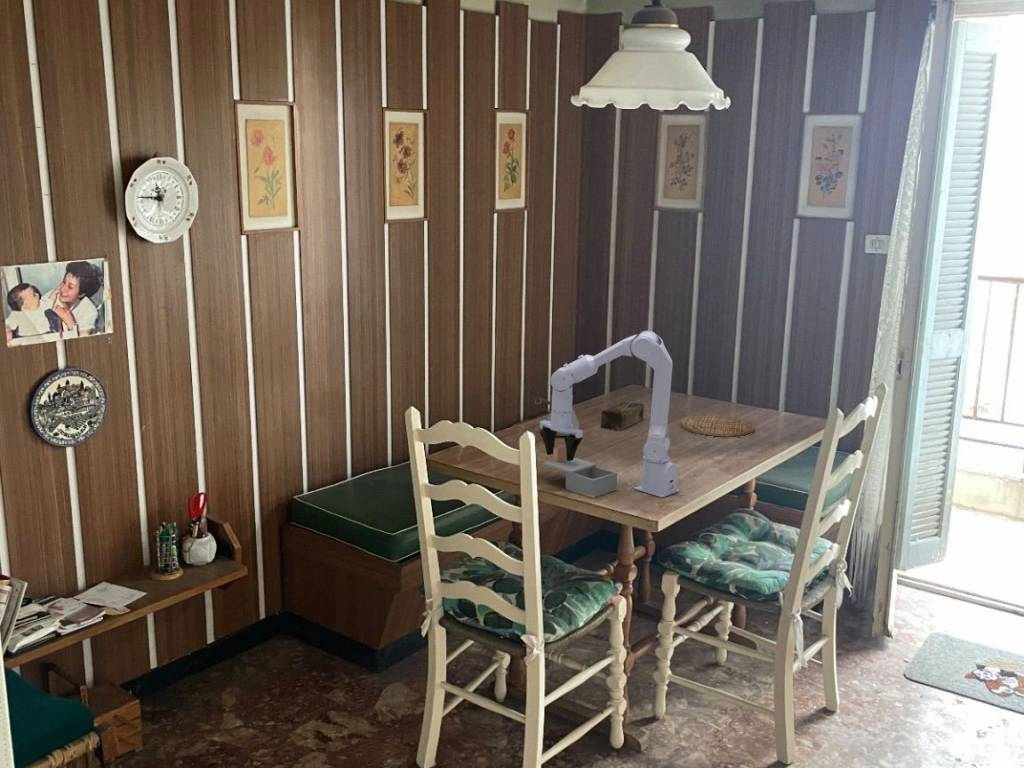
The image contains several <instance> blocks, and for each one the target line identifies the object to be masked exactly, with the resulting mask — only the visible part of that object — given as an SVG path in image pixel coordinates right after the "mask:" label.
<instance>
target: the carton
mask: <svg viewBox="0 0 1024 768" xmlns="http://www.w3.org/2000/svg"><path fill="white" fill-rule="evenodd" d="M617 488H618V472H616V471H614V470H613V471H612V470H610V469H605V468H602V467H599V466H597V465H596V466H594V467H591V468H588V469H584V470H581V471H578V472H574V473H569V472H565V488H564V489H565V490H568V491H570V492H573V493H576V494H579V495H582V496H584V497H585V496H586V497H588V498H592V499H596V498H597V497H600V496H604V495H606V494H610V493H612V491H613V492H615V490H616V491H617ZM609 492H610V493H609Z"/></svg>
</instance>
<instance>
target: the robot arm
mask: <svg viewBox="0 0 1024 768" xmlns="http://www.w3.org/2000/svg"><path fill="white" fill-rule="evenodd" d="M633 355H634V356H635V357H636V358H638V359H639V360H641V361H644V362H646V363H647V364H648V365H649V366H650V368H652V369H653V382H652V383H653V385H652V394H651V395H652V396H651V406H650V407H651V408H650V420H649V427H648V432H647V440H646V442H645V443H644V445H643V449H642V453H643V456H642V472H641V473H642V475H641V477H642V478H641V485H639V486H636V487H634V489H635V490H636V491H640V492H641V493H642V492H643V493H646V494H650V495H653V496H657V497H659V498H665V497H666V496H670V495H672V494H675V493H676V494H677V493H679V492H680V491H679V488H678V484H679V483H678V481H679V468H678V465H677V464H676V463H673V462H672V461H671V460H670V456H669V454H668V451H669V449H670V448H671V445H672V444H671V439H670V435H669V425H668V423H669V422H668V420H669V414H670V413H669V410H670V400H671V399H670V398H671V388H672V376H673V375H672V374H673V360H672V357H671V356H670V354H669V352H668V350H667V348H666V346H665V344H664V340H663V339H662V338H661V337H660V336H659V335H657V333H655V332H654V331H651V330H644V331H641V332H640V333H639V334H634V335H630V336H628V337H626V338H623V339H622V340H620V341H619V342H616V343H615V344H613V345H611V346H609V347H607V348H606V349H604V350H602V351H601V352H599V353H597V354H595V355H591V354H585V355H584V354H581V355H579V356H578V357H577V358H578V359H576V360H574V361H572V362H570V363H569V364H568V363H567V362H566V363H565V364H563V367H559V368H558V369H556V371H554V372H553V373H552V375H551V377H550V384H551V387H552V394H551V402H552V405H551V411H552V413H551V412H550V413H551V421H547V419H546V420H540V421H539V428H540V429H542V430H539V435H540V437H541V438H542V440H543V443H544V447H545V452H546V455H547V456H551V455H553V451H554V447H555V443H556V442H555V441H556V437H557V436H556V434H557V432H560V433H564V434H568V435H569V436H568V437H563V440H564V443H565V444H564V445H566V458H567V461H571V460H573V459H574V457H575V456H576V451H577V450H578V447H579V445H580V443H581V442H582V440H583V438H584V436H583V435H584V430H582V429H580V428H579V429H578V428H576V427H574V426H573V424H571V423H572V406H573V398H572V396H573V385H574V384H578V383H580V382H582V381H583V380H585V379H587V378H589V377H591V376H593V375H595V374H597V373H598V371H599V370H598V369H599V367H600V366H602V365H604V364H607V363H609V362H611V361H613V360H615V359H617V358H619V357H621V356H627V357H632V356H633Z"/></svg>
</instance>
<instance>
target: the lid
mask: <svg viewBox="0 0 1024 768" xmlns="http://www.w3.org/2000/svg"><path fill="white" fill-rule="evenodd" d="M552 456H553V457H552V460H549V461H545V462H543V466H547V467H550V468H553V469H557V470H560V471H563V472H565V473H566V472H569V473H574V472H578V471H581V470H584V469H588V468H591V467H594V466H596V467H597V463H594V462H592V461H588V460H585V459H580V458H577V457H575V456H574V459H573V460H571V461H567V458H566V444H561V445H557V446H554V451H553V454H552Z"/></svg>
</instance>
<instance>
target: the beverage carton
mask: <svg viewBox="0 0 1024 768" xmlns="http://www.w3.org/2000/svg"><path fill="white" fill-rule="evenodd" d="M644 408H645V405H644V404H642V403H637V402H632V401H631V400H626V401H623V402H621V403H620V402H619V403H618V404H616V405H612V406H611V407H608V408H605V409H603V410H602V411H601V418H600V420H601V421H600V428H602V427H604V428H603V429H606V428H609V429H608V430H611V429H614V430H613V431H617V430H618V431H617V432H621V431H623V430H625V429H627V428H629V427H631V426H633V425H636V424H637V423H639V422H641V421H643V419H644ZM640 420H641V421H640ZM638 421H639V422H638Z"/></svg>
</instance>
